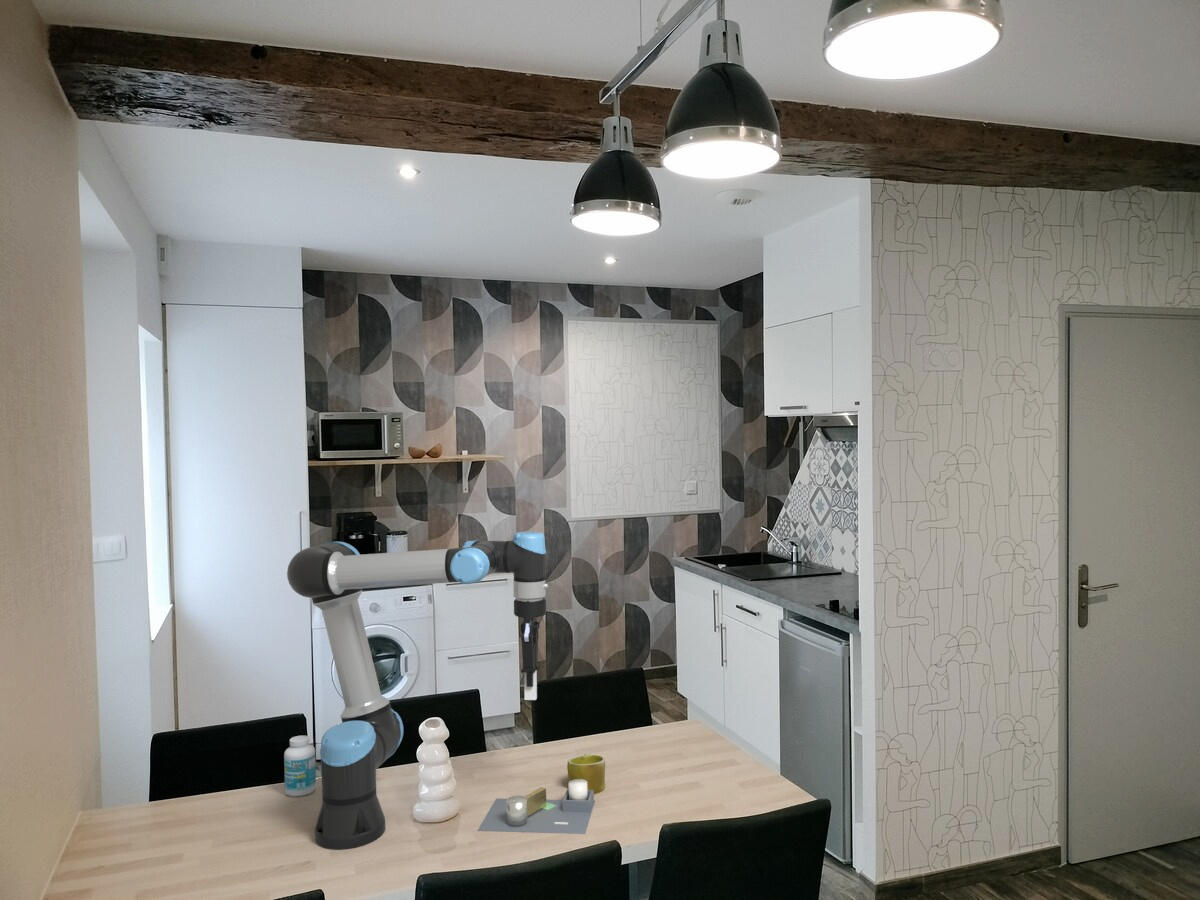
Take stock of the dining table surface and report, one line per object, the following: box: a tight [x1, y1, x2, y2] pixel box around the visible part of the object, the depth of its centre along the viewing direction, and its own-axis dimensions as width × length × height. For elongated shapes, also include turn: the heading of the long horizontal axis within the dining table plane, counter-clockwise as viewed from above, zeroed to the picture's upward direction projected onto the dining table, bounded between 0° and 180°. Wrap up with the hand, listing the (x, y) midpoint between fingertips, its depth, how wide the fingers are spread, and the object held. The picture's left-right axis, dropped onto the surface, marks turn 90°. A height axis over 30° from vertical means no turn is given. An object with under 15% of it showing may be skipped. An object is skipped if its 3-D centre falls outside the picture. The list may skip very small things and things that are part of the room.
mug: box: [566, 753, 606, 795], centre depth 207 cm, size 12×10×10 cm
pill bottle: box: [283, 735, 317, 798], centre depth 211 cm, size 8×7×14 cm
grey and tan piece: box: [506, 787, 547, 826], centre depth 190 cm, size 12×5×5 cm, turn 145°
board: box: [477, 789, 596, 835], centre depth 190 cm, size 24×17×4 cm
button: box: [568, 779, 588, 800], centre depth 195 cm, size 4×4×4 cm
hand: (530, 698), depth 195 cm, fingers closed
